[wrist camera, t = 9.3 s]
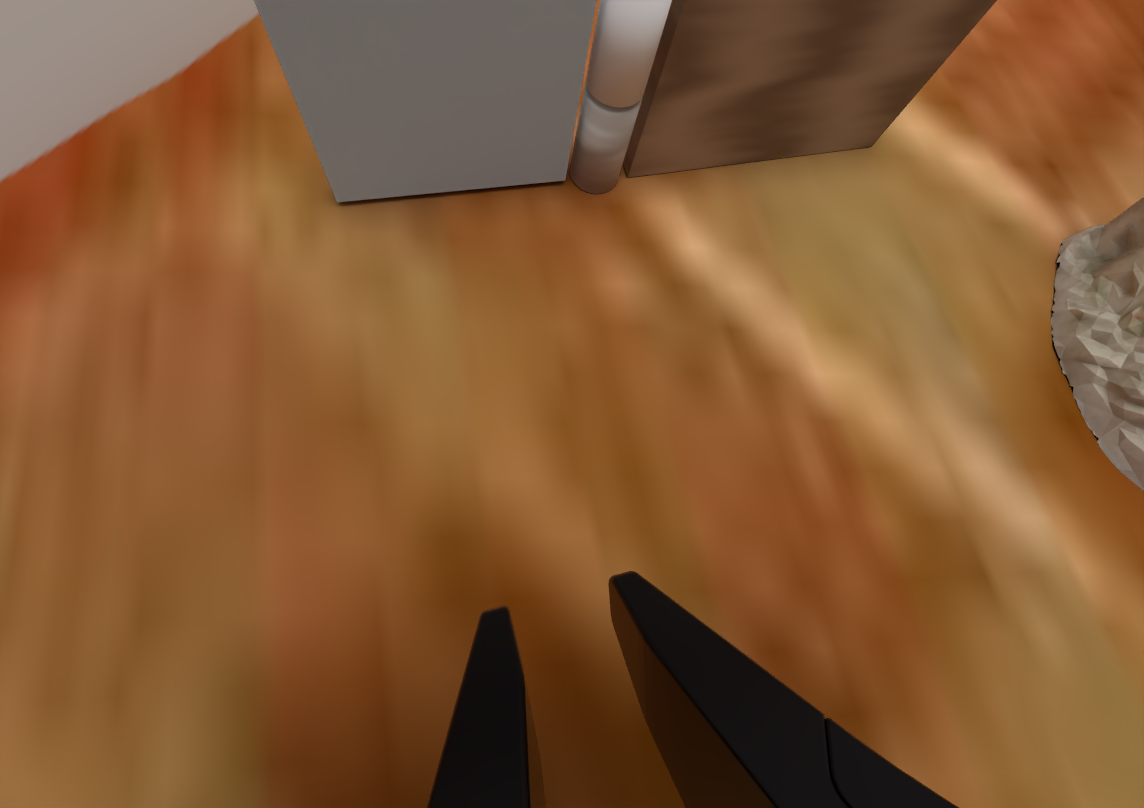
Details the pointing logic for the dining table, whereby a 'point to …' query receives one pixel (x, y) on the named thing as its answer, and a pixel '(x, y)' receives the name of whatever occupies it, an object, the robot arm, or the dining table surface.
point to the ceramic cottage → (1105, 333)
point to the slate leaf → (454, 85)
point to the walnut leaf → (769, 83)
